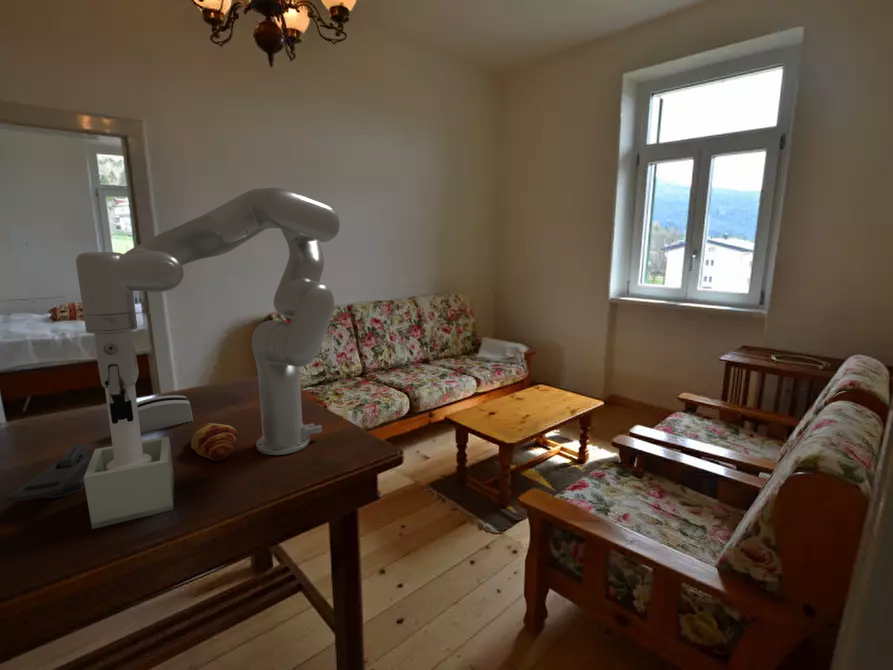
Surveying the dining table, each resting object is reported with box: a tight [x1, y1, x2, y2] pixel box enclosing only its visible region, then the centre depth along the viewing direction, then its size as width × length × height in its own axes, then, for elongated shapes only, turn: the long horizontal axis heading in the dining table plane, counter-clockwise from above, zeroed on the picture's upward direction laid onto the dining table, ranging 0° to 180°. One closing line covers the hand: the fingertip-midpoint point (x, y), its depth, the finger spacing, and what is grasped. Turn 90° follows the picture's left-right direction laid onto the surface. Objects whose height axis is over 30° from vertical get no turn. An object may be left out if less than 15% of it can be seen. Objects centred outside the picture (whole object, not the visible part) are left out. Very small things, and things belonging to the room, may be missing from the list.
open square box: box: [84, 436, 175, 530], centre depth 88 cm, size 12×12×10 cm
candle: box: [104, 347, 152, 470], centre depth 85 cm, size 7×7×25 cm
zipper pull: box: [4, 444, 93, 503], centre depth 92 cm, size 9×7×25 cm
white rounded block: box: [137, 394, 194, 434], centre depth 122 cm, size 17×5×10 cm, turn 133°
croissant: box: [190, 422, 238, 462], centre depth 112 cm, size 21×10×8 cm, turn 37°
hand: (124, 417), depth 85 cm, fingers closed on candle, 3 cm apart
